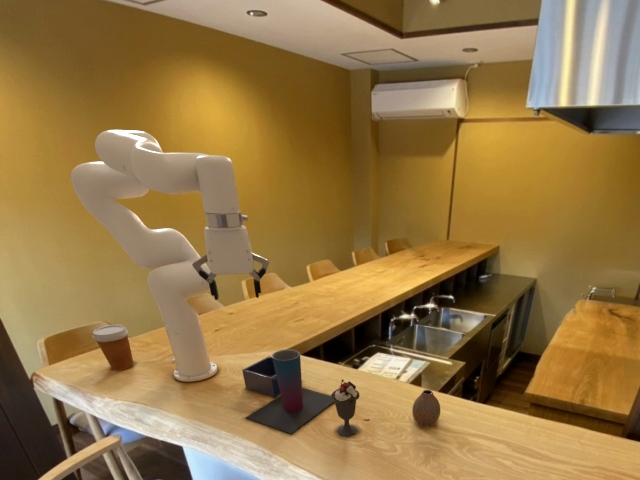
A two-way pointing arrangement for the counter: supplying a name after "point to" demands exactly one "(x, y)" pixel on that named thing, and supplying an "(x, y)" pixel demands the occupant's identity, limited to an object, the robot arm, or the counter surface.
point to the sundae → (346, 406)
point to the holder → (262, 378)
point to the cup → (289, 378)
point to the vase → (426, 409)
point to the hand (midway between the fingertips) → (237, 297)
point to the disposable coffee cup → (114, 345)
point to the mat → (291, 421)
